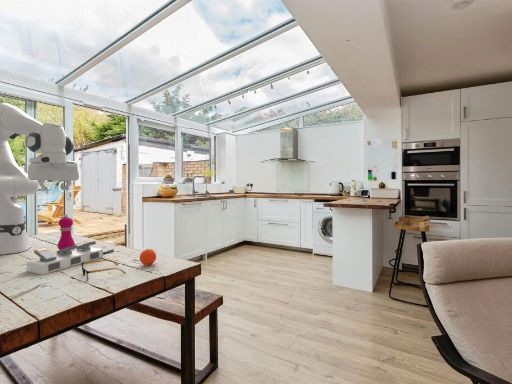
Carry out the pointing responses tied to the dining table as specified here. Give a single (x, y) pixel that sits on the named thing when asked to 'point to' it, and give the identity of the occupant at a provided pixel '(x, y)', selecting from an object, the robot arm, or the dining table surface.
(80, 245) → the rocker
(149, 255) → the clementine
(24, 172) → the robot arm
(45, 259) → the block
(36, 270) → the power strip
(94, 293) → the dining table surface
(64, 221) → the pepper mill
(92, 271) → the eyeglasses
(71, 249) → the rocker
